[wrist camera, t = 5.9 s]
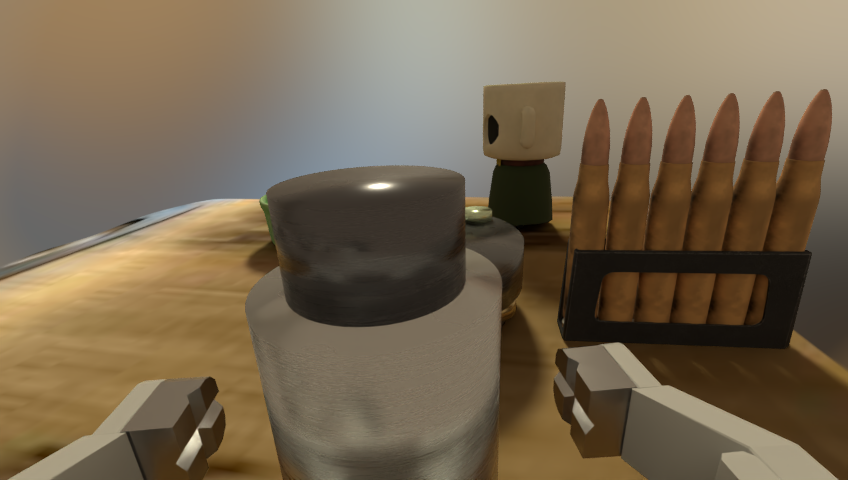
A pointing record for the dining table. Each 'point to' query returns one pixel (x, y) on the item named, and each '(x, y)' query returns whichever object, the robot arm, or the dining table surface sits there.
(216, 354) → the dining table surface
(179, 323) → the dining table surface
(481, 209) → the grey lid
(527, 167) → the character mug
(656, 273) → the ammunition clip
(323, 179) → the clear bottle
